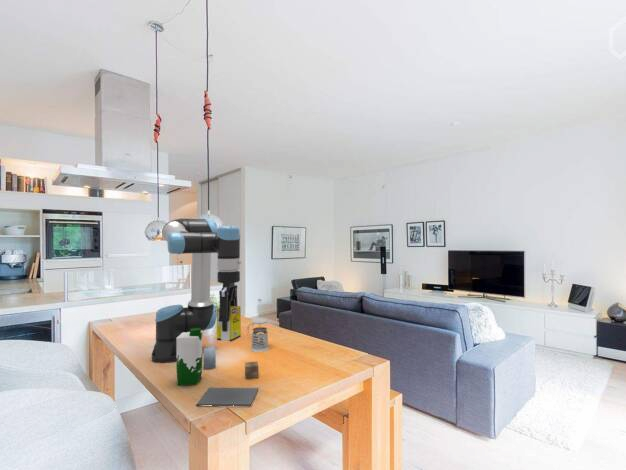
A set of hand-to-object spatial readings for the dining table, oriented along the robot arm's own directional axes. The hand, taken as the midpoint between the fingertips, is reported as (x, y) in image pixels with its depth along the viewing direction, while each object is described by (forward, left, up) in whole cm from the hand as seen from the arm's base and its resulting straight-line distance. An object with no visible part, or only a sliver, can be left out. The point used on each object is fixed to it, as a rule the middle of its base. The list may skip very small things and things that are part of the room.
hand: (228, 337), depth 115 cm
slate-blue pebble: (-16, +27, -21) cm, 38 cm away
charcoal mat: (0, 0, -21) cm, 21 cm away
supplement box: (0, 0, -1) cm, 1 cm away
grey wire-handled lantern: (0, +52, -21) cm, 56 cm away
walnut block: (+4, +18, -21) cm, 28 cm away
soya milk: (-19, +13, -21) cm, 31 cm away
